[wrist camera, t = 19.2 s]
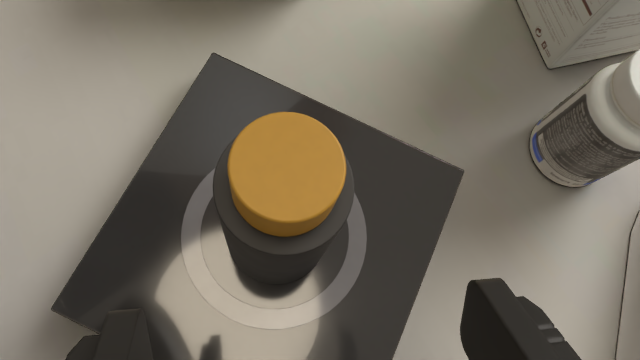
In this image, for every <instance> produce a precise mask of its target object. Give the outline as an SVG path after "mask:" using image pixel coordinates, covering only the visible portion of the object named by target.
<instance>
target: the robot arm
mask: <svg viewBox="0 0 640 360" xmlns="http://www.w3.org/2000/svg"><path fill="white" fill-rule="evenodd" d="M460 335H461V341H462V345H463V348H464V351H465V353H466V355H467V356H468V358H469V360H581V359H580V357H579V356H578V355H577V354H576V352H575V351H574V350H573V348H572V347H571V346H570V345H569V343H568V342H567V341H565V340H564V337H563V336H562V334H561V333H560V332H559V331H558V329H557V328H554V324H553V323H552V322H551V320H550V319H549V318H548V317H547V315H546V314H545V313H544V312H543V310H542V309H541V308H539V307H538V306H536V305H535V304H534V303H532V302H531V301H529V300H528V299H526V298H525V297H524V296H521V297H515V295H514V294H513V292H512V291H511V290H510V288H509V287H508V286H507V284H506V283H505V282H504V281H503V280H502V279H501V278H492V279H481V280H471V281H470V282H469V283H468V286H467V291H466V296H465V302H464V308H463V314H462V319H461V325H460ZM66 360H153V356H152V350H151V345H150V339H149V334H148V329H147V324H146V318H145V313H144V311H143V309H142V308H139V309H128V310H116V311H109V312H108V313H107V315H106V318H105V321H104V324H103V327H102V330H101V333H100V335H92V336H84V337H83V338H82V339H81V340H80V341H79V342H78V344H77V345H76V346H75V347H74V348H73V349H72V350H71V351H70V352H69V354H68V355H67V358H66Z"/></svg>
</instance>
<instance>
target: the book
mask: <svg viewBox="0 0 640 360" xmlns="http://www.w3.org/2000/svg"><path fill="white" fill-rule="evenodd" d="M616 360H640V211H639V213H638V216H637V219H636V221H635V224H634V226H633V229H632V231H631V236H630V245H629V253H628V261H627V269H626V278H625V286H624V294H623V302H622V310H621V319H620V327H619V335H618V343H617V352H616Z"/></svg>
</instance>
